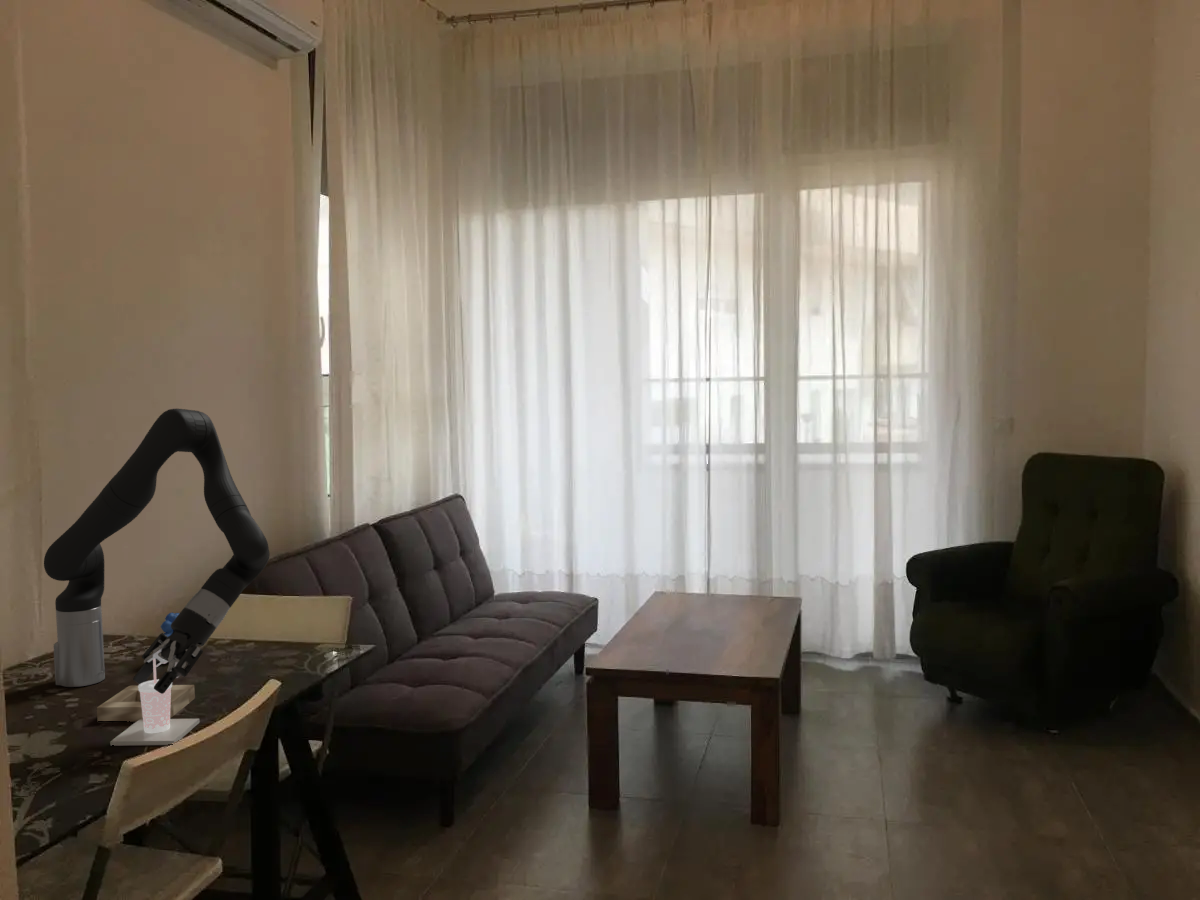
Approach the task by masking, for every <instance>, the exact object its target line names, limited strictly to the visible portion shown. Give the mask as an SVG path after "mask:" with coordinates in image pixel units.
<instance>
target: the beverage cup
mask: <svg viewBox="0 0 1200 900" xmlns="http://www.w3.org/2000/svg"><path fill="white" fill-rule="evenodd" d="M156 661H157V660H156V658H153V672H152V673H153V679H152V680H150V679H149V680H146V681H145V682H143V683H141V684H138V685H137V686H138V688H139V689H138V690H139V691H140V697H141V706H142V715H143V725H144V731H145V732H147V733H158V732H163V731H166V730H168V729H169V728H170V719H171V718H170V707H171V687H172V685H173V682H172V683H171V685H170V686H169V687H168V689H167V690H166V691H165V693H163V694H161V693H159V692H158V691H156V690H155V689H154V686H155V684H156V683H157V682H158V681H159V679H160V678H158V679H157V667H156Z"/></svg>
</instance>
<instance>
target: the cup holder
mask: <svg viewBox="0 0 1200 900" xmlns="http://www.w3.org/2000/svg"><path fill="white" fill-rule="evenodd" d="M138 689H139V688H138V685H128V686H126V687H125V688H124V689H122V690H120V691H119V692H118V693H116V694H114V695H113V696H112V697H111V698H109V699H108V700H106V701H105V702H103V703H101V704H100V705H98V706H97V707H96V716H97V717H96V719H97V722H98V721H127V722H128V723H129V721H130V722H133V723H135V722H137V721H138V720H139V719H143V715H142V706H141V697H140V691H139V690H138ZM195 693H196V691H195V684H172V687H171V707H170V719H172V718H173V717H174V716H175V715H177V714H178V713H179V712H180V711H181V710H183V708H185V707H186V706H188V704H189V705H190V703H191V702H193V700H195V699H196V694H195Z"/></svg>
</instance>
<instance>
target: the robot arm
mask: <svg viewBox="0 0 1200 900" xmlns="http://www.w3.org/2000/svg"><path fill="white" fill-rule="evenodd" d="M177 452H181V453H191V454H192V455H193V456H194V457H195V458H196V461H198V463H199V465H200V466H201V469H202V472H203V497H204V500H205V503H206V506H207V509H208V510H209V513H210V514H211V516H212V518H213V520H214V522H215V524H216V526H217V527H218V528H219V530H220V531H221V532H222V533H223V534H224V537H225V538H226V541H227V542H228V545H229V547H230V549H231V552H232V553H233V555H232V556H231V557H230V559H229V560H228V562H226V563H225V564H224V566H223V567H220V568H218V569H217V568H216V570H215V571H214V572H213V573H211V575H210V576H209V578H208V579H207V580H206V581H205V582H204V584H203V585H202V586H201V587H200V588H199V590H198V591H197V592H196V593H195V594H194V595H193V596H192V597H191V598H190V599H189V601H188V602H187V603H186V605H185V606H184V607H183V609H182V610H181V611H180V612H179V613H180V614H179V615H178V616H177V617H176V619H175V620H174V621H173V622H172V624H171V628H172V629H173V633H172V634H171V635H170V636H169V637H167V636H166V635H165V634H164V633H163V632H161V633H160V634H159V635H158V636H157V637H156V638H155V640H153V642H152V643H151V645H149V647H148V648H147V650H146V651H145V652H144V653H143V655H142V656H141V658H142V659H143V665H142V666H140V667H141V668H139V670H138V671H137V672H136V673H135V675H134V676H133V677H132V680H133V682H135V683H137V684H138V685H139V684H141V683H143V682H146V681H148V679H149V677H150V676H151V675H152V674H153V673H154V672H153V658H156V668H158V667H159V666H160V665H162V664H167V663H168V667H167V671H164V672H163V674H162V675H161V676H160V678H158V679H159V681H158V682H157V683H156V684H155V686H154V689H155V690H156V691H158V692H159V693H161V694H163V693H165V691H166V690H167V689H168V687H169V686H170V685H171V683H172V684H173V683H174V681H175V680H176V679H179V678H180V677H181V676H182V677H183V678H184V677H186V676H188V674H189V673H190V671H191V670H192V668H193V667H194V665H196V663H197V662H198V660H199V658H200V657H201V656H202V654H203V653H204V650H203V649H202V648H201V647H203V646H204V645H205V644H206V643H207V641H208V640H209V638H211V636H213V633H214V632H215V630H217V628H218V627H219V626H220V624H221V623H222V621H223V620H224V618H226V615H227V614H228V613H229V610H230V608H231V607H233V605H234V604H235V602H236V601H237V599H238V598H239V596H241V594H242V592H243V591H244V590H245V589H246V588H247V587H248V586H249V585H250V584H251V583H252V582H253V581H254V580H255V579H256V578H257V577H258V576H259V575H260V574H261V573H262V572H263V571H264V569H265V567H266V566H267V564H268V562H269V560H270V557H271V556H270V548H269V543H268V539H267V538H266V536H265V534H264V533H263V530H262V529H261V528H260V526H259V525H258V523H257V522H256V520H255V519H254V517H253V516H252V514H251V512H250V510H249V507H248V506H247V503H246V502H245V501H244V498H243V496H242V495H241V492H240V491H239V490H238V487H237V486H236V482H235V481H234V479H233V477H232V474H231V471H230V468H229V465H228V463H227V460H226V456H225V454H224V451H223V448H222V446H221V442H220V439H219V435H218V433H217V430H216V427H215V425H214V423H213V421H212V419H211V418H210V416H209V415H207V414H206V413H205V412H203V411H200V410H193V409H186V408H170V409H167V410H165V411H163V412H162V413H161V414H160V415H159V416H158V417H157V418H156V420H155V421H154V423H153V424H152V425H151V427H150V429H149V430H148V432H147V433H146V435H145V436H144V438H143V439H142V441H141V442H140V444H139V445H138V447H137V448H136V449H135V450H134V452H133V453H132V454H131V456H130V457H129V458H128V459H127V460H126V462H125V463H124V464H123V465H122V467H121V468H120V469H119V470H118V471H117V472H116V473H115V475H114V476H113V477H111V479H110V480H109V481H108V483H107V484H106V485H105V486H104V487H103V489H102V490H101V491H100V492H99V494H98V495H97V496H96V497H95V498H94V500H93V501H92V502H91V503H90V504H89V506H88V507H87V508H86V509H85V510H84V511H83V513H82V514H81V515H80V516H79V517H78V519H77V520H76V521H75V522H74V523H73V524H72V525H71V526H70V527H69V528H67V529H66V530H65V532H64V533H62V534H61V535H60V536H59V537H58V538H57V539H56V540H55V541H54V542H52V544H51V545H50V546H49V547H48V548H47V550H46V552H45V554H44V559H43V567H44V570H45V573H46V575H47V576H48V577H49V578H50V579H53V580H54V581H58V582H59V581H60V582H65V581H66V582H67V581H68V584H67V585H66V587H65V588H64V590H63V591H62V592H61V593H60V594H59V595H57V596H56V598H55V603H54V604H55V618H56V619H55V620H56V634H57V635H56V640H57V642H55V643H54V644H53V661H54V678H55V686H61V687H67V688H74V687H75V688H76V687H84V686H85V687H86V686H91V685H95V684H97V683H98V684H99V683H100V682H102V681H104V680H105V679H106V674H105V673H106V668H105V651H104V633H103V632H104V631H103V613H102V611H103V610H102V599H103V598H102V597H103V595H104V592H105V555H104V554H105V553H104V551H103V547H102V545H101V543H102V542H104V541H105V540H107V539H108V538H109V537H111V536H113V535H114V534H115V533H117V532H119V531H120V530H122V529H123V528H125V527H126V526H127V525H128V524H130V523H132V522H133V521H134V520H135V519H136V518H137V517H138V516H139V515H140V514H141V513H142V511H143V510H145V508H146V507H147V506H148V504H149V503H150V502H151V501H152V500H153V498H154V495H155V492H156V488H157V478H158V474H159V473H158V472H159V471H160V469H161V468H162V466H163V465H164V464H165V463H166V462H167V460H168V459H169V458H170V457H171V456H173V455H174V454H175V453H177Z"/></svg>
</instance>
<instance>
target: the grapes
mask: <svg viewBox="0 0 1200 900" xmlns="http://www.w3.org/2000/svg"><path fill="white" fill-rule="evenodd" d="M179 614H180V612H175V613H174V612H169V613H168V614H167V615H166V616H165V618H164V620H165V621H163V622H161V623H162V624H161V625H160V629H161V630H162V631H163V632H164V633H163V634H165V635H166V636H167V637H169V636H170V635H171V634H172V633H173V629H172V628H171V624H172V622H173V621H174V620H175V619H176V617H177V616H178V615H179Z"/></svg>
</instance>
